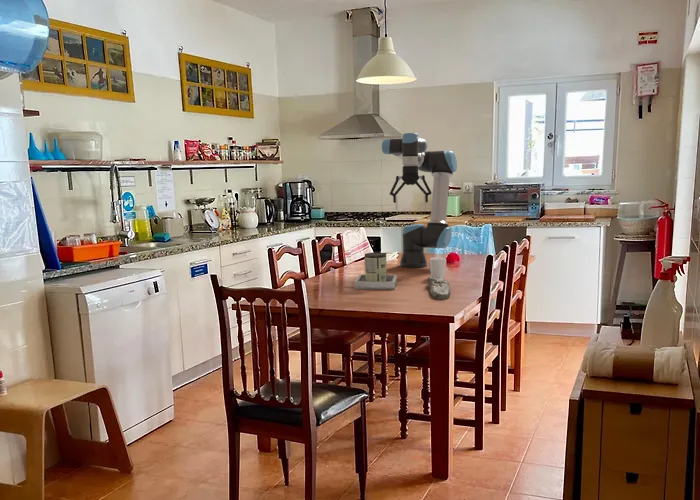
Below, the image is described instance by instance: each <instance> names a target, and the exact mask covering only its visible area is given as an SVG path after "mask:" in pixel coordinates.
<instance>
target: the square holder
mask: <svg viewBox="0 0 700 500" xmlns="http://www.w3.org/2000/svg"><path fill="white" fill-rule="evenodd" d="M397 277H398V275H397V274H387V282H378V281H366V276H365V274H358V276H357V278H356V279H355V281H354V290H381V291H382V290H387V291H388V290H389V291H390V290H392V291H394V290H395V289H396V287H397V282H398V278H397Z"/></svg>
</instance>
